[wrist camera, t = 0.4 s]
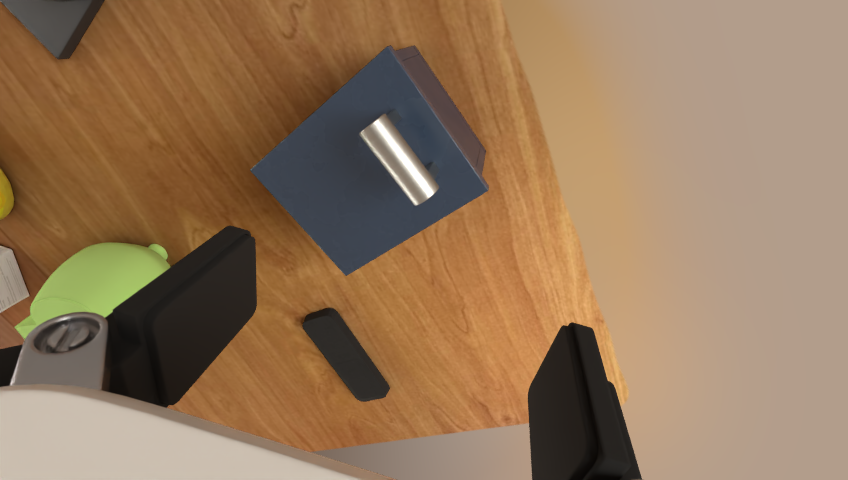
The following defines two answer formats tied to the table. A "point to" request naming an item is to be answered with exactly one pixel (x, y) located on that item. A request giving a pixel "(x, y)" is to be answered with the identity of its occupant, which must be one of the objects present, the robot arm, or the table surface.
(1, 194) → the mug
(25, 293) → the white product box
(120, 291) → the teapot
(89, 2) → the switch block
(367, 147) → the blue drawer with handle
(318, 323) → the remote control
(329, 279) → the table surface
